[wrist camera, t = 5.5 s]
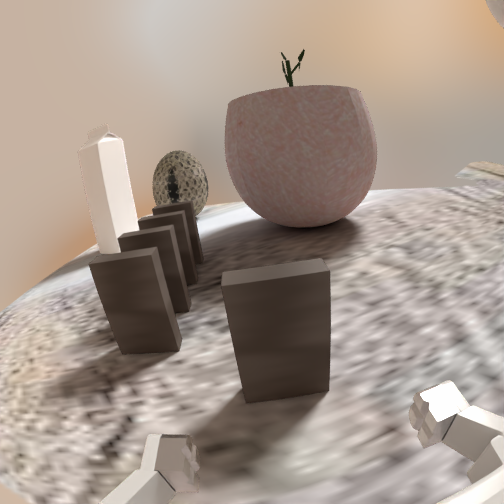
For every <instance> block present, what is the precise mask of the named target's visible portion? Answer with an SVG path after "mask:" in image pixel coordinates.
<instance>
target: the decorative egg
mask: <svg viewBox="0 0 504 504" xmlns="http://www.w3.org/2000/svg"><path fill="white" fill-rule="evenodd" d="M153 195H154V199H155V202H156V205H157V206H161V205H167V204H173V203H178V202H184V201H190V200H192V201H193V206H194V212H195V216H196V215H198V214H199V213H200V212H201V211H202V209H203V208H204V206H205V204H206V201H207V197H208V183H207V178H206V175H205V172H204V170H203V168H202V166H201V164H200V163H199V161H198V160H197V159H196V158H195V157H194V156H192V155H191V154H189V153H187V152H184V151H173V152H170V153H168V154H167V155H165V156H164V157H163V158H162V159H161V161H160V162H159V163H158V165H157V167H156V170H155V172H154V177H153Z"/></svg>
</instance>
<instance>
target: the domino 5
mask: <svg viewBox="0 0 504 504" xmlns="http://www.w3.org/2000/svg"><path fill="white" fill-rule="evenodd" d="M221 288H222V293H223V298H224V303H225V308H226V313H227V318H228V323H229V328H230V333H231V337H232V342H233V347H234V352H235V356H236V361H237V365H238V370H239V374H240V379H241V383H242V388H243V392H244V397H245V401H246V403H255V402H263V401H271V400H278V399H285V398H291V397H297V396H303V395H309V394H314V393H319V392H324V391H329V380H330V342H331V297H330V270H329V268H328V267H327V266H326V264H325V263H324V261H323V260H322V258H317V259H310V260H303V261H296V262H289V263H282V264H275V265H268V266H261V267H254V268H247V269H240V270H232V271H225V272H223V273H222V282H221Z"/></svg>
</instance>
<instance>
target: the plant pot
mask: <svg viewBox="0 0 504 504" xmlns="http://www.w3.org/2000/svg"><path fill="white" fill-rule="evenodd" d="M304 51H305V50H303V51H302V52H301V54H300V56H299V57H298V59H299V62H298V64H297V65H296V66H295V68H294V69H293V70H292V71H291V68H290V62H289V60H287V61H286V68H287V74H288V76H287V75H285V77H286V80H287V83H289V87H285V88H278V89H271V90H266V91H261V92H256V93H252V94H249V95H245V96H242V97H239V98H237V99H234V100H232V101H231V102H230V103H229V104H228V109H227V116H226V126H225V156H226V162H227V167H228V170H229V173H230V176H231V179H232V181H233V184H234V186H235V188H236V190H237V191H238V193H239V195H240V197H241V198H242V199H243V201H244V202H245V203H246V204H247V205H248V206H249V207H250V208H251V209H252V210H253V211H254V212H256V213H257V214H258V215H260V216H261V217H263V218H265V219H266V220H268V221H271V222H273V223H276V224H279V225H283V226H289V227H299V228H305V227H316V226H322V225H326V224H329V223H332V222H335V221H337V220H339V219H341V218H343V217H345V216H346V215H348V214H349V213H351V212H352V211H353V210H354V209H355V208H356V207H357V206H358V205H359V204H360V203H361V202H362V201H363V199H364V198H365V196H366V195H367V193H368V191H369V189H370V186H371V184H372V181H373V178H374V174H375V169H376V161H377V144H376V138H375V132H374V128H373V124H372V121H371V117H370V114H369V111H368V109H367V106H366V103H365V101H364V99H363V97H362V94H361V92H360V91H359V90H357V89H354V88H350V87H342V86H331V85H310V86H294V87H293V80H292V73H293V72H294V71H295V70H296V68H297V67H298V66H299V69H300V61H302V58H303V56H304ZM281 54H282V56H283V59H285V60H286V58H285V56H284V55H283V53H282V52H281ZM282 66H283V72H284V73H286V72H285V68H284V64H283V61H282Z"/></svg>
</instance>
